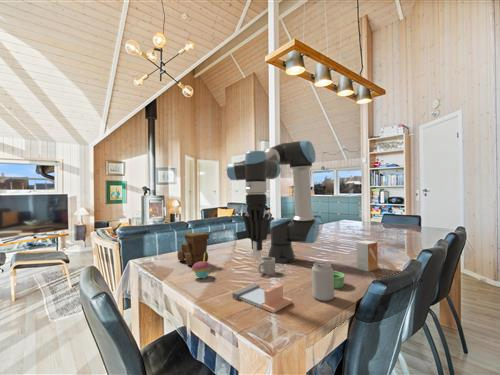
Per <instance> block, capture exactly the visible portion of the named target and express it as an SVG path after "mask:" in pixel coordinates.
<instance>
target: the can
mask: <svg viewBox="0 0 500 375" xmlns="http://www.w3.org/2000/svg"><path fill="white" fill-rule="evenodd" d="M333 271H334V268H332V264H331V263H328V262H323V261H322V262H320V261H319V262H315V263H313V266H312V268H311V291H312V293H311V294H312V296H313V297H314V299H316V300H317V301H321V302H329V301H331V300H333V298H335V288H334V276H333Z"/></svg>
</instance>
